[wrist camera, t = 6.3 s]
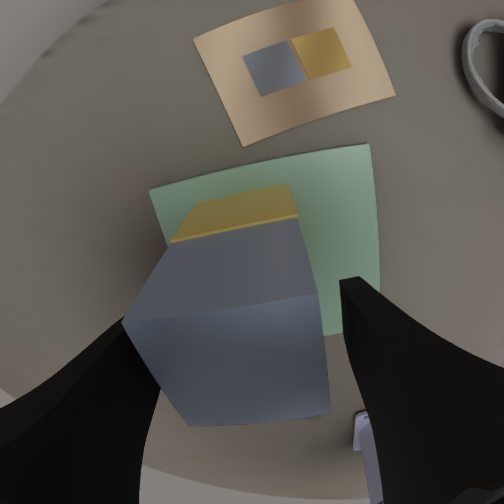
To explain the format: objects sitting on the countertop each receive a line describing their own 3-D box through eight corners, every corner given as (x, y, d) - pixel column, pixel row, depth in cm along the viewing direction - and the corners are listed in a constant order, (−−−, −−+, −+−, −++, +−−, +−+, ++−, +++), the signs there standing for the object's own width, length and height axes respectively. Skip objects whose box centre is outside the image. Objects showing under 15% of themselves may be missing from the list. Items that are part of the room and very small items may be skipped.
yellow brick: (287, 183, 14) (297, 214, 10) (303, 265, 16) (314, 319, 12) (196, 203, 14) (170, 240, 10) (220, 280, 16) (207, 336, 12)
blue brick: (297, 216, 10) (318, 292, 6) (314, 321, 12) (331, 413, 8) (171, 243, 10) (121, 322, 6) (207, 337, 12) (188, 426, 8)
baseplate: (366, 143, 13) (369, 143, 13) (377, 320, 18) (379, 324, 17) (151, 188, 15) (148, 190, 14) (211, 348, 19) (210, 353, 19)
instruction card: (347, -9, 10) (347, -11, 9) (394, 95, 12) (395, 95, 12) (193, 39, 11) (192, 39, 11) (243, 146, 14) (242, 147, 13)
